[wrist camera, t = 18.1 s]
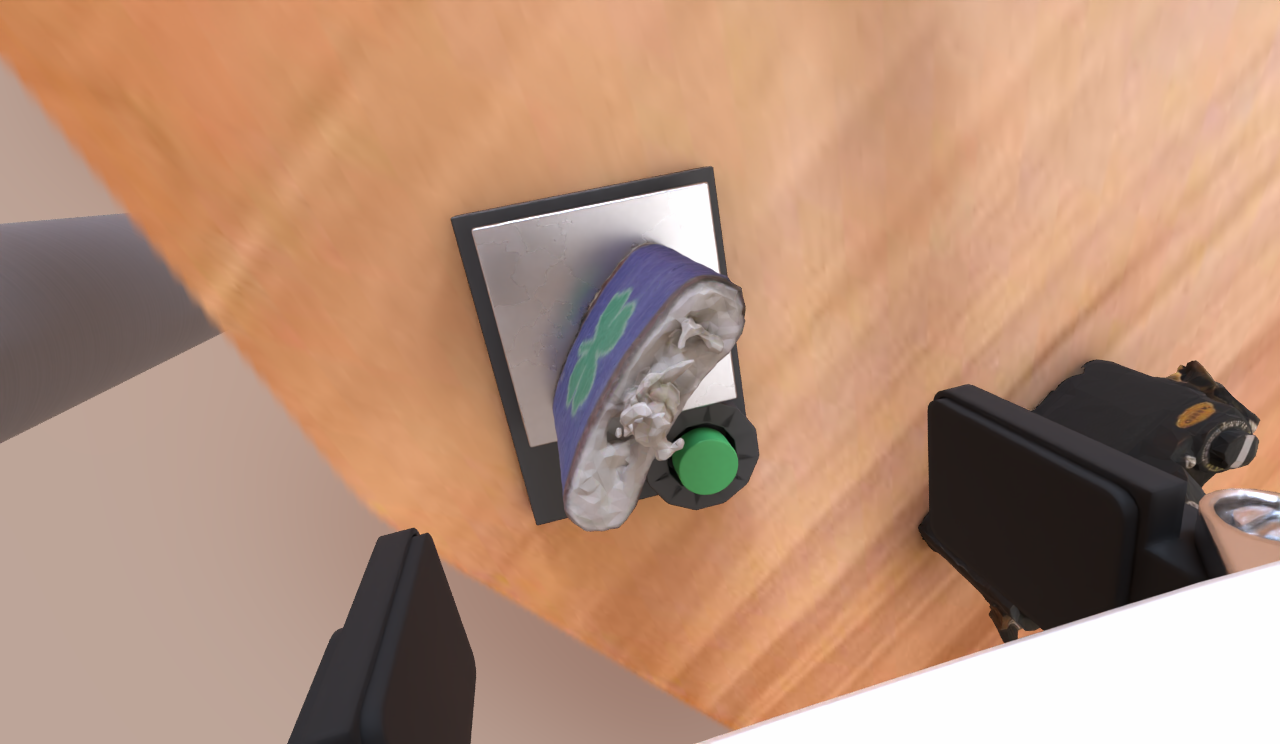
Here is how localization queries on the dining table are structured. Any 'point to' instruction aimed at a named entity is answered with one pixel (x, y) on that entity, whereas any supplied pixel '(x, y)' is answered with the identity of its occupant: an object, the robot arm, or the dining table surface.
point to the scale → (724, 416)
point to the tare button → (705, 461)
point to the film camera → (1137, 440)
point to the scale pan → (582, 284)
